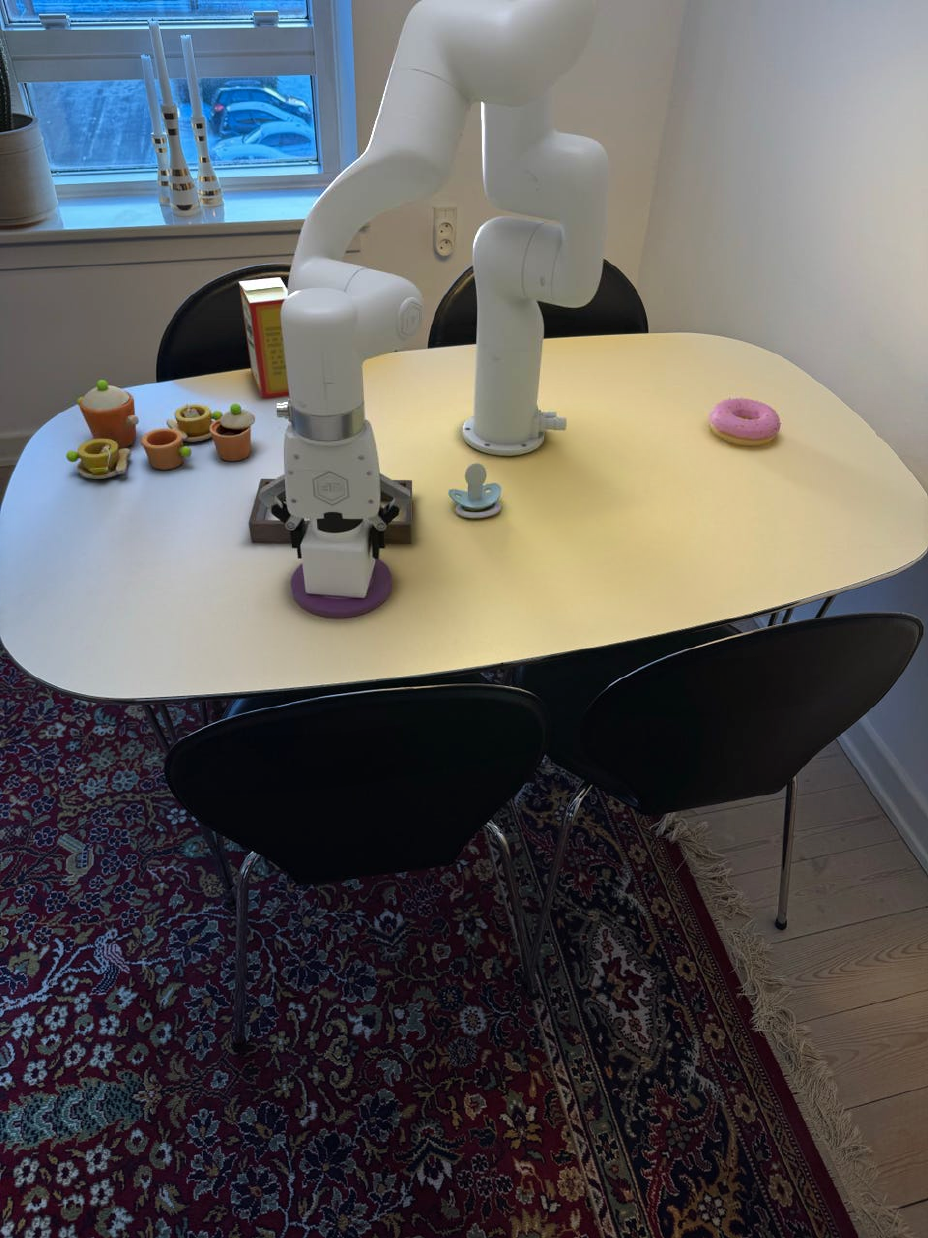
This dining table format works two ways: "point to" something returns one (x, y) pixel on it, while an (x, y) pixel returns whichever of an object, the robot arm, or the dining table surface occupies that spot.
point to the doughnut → (744, 421)
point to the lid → (339, 604)
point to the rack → (280, 534)
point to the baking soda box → (265, 334)
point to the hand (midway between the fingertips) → (339, 551)
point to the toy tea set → (153, 433)
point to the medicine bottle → (337, 556)
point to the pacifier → (477, 494)
